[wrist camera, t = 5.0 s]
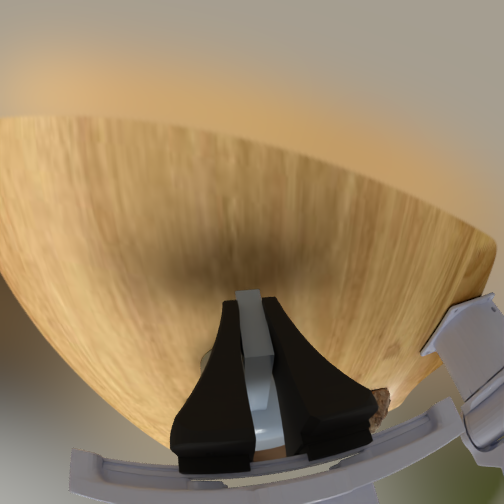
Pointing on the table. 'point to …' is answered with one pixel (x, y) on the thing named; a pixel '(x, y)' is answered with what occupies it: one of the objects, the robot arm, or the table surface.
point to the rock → (380, 408)
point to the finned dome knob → (258, 370)
